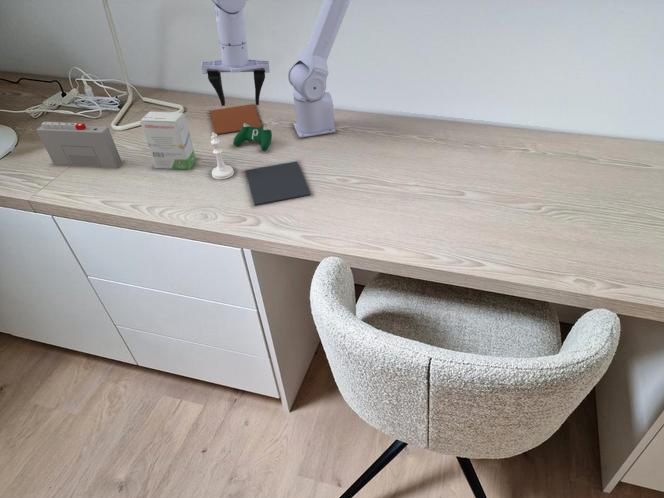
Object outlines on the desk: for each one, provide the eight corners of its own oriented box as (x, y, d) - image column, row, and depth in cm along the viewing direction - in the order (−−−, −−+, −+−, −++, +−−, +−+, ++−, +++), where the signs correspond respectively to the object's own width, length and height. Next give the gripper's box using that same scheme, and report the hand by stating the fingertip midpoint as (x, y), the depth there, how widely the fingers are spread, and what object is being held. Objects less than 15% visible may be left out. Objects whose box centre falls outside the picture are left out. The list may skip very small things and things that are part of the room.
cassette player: (122, 162, 117) (106, 122, 110) (116, 168, 115) (100, 128, 108) (60, 159, 118) (41, 119, 111) (54, 164, 116) (33, 125, 109)
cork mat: (254, 105, 138) (253, 104, 137) (262, 127, 128) (261, 126, 128) (210, 112, 135) (210, 110, 135) (215, 135, 125) (214, 133, 125)
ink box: (154, 168, 114) (137, 121, 106) (163, 157, 118) (147, 110, 110) (190, 170, 113) (176, 122, 105) (197, 158, 117) (184, 111, 109)
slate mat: (297, 162, 115) (296, 161, 115) (310, 195, 105) (310, 193, 105) (245, 171, 113) (245, 170, 112) (254, 205, 103) (254, 204, 103)
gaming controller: (271, 154, 121) (277, 131, 121) (265, 150, 118) (270, 125, 118) (238, 149, 124) (244, 126, 124) (231, 144, 120) (236, 120, 120)
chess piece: (238, 170, 113) (229, 130, 106) (225, 181, 110) (215, 140, 103) (220, 165, 115) (210, 125, 108) (207, 176, 111) (196, 136, 104)
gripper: (196, 48, 101) (207, 111, 110) (268, 47, 103) (272, 109, 112) (198, 37, 106) (208, 99, 115) (266, 37, 108) (271, 97, 117)
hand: (240, 103), depth 114 cm, fingers open, 7 cm apart
